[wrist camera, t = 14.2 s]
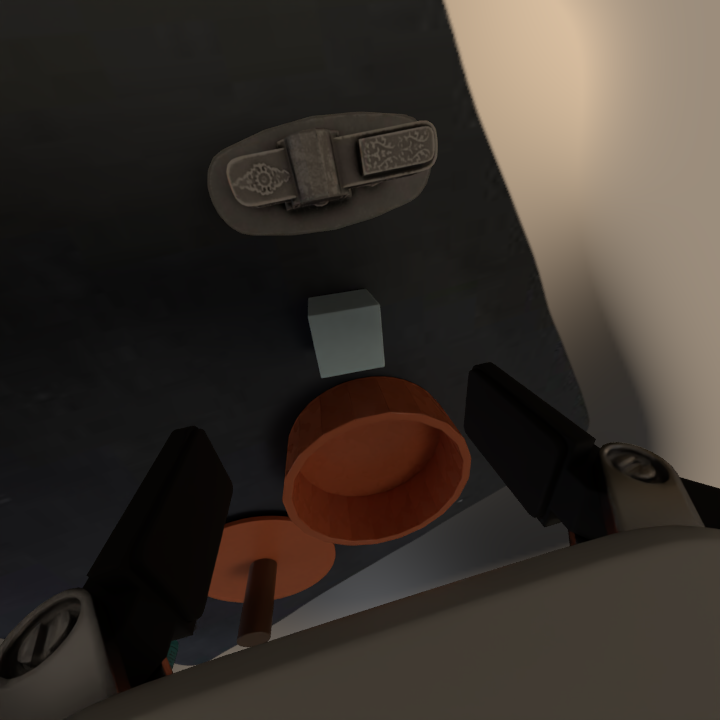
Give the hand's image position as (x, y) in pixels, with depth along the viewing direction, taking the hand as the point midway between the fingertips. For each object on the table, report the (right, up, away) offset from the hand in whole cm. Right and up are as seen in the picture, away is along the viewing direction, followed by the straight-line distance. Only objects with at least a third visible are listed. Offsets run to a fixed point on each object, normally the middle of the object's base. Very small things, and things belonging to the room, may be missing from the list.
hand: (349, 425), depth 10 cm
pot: (+1, -6, +17) cm, 18 cm away
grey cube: (-1, +5, +10) cm, 12 cm away
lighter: (-2, +12, +7) cm, 14 cm away
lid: (-11, -21, +21) cm, 32 cm away
